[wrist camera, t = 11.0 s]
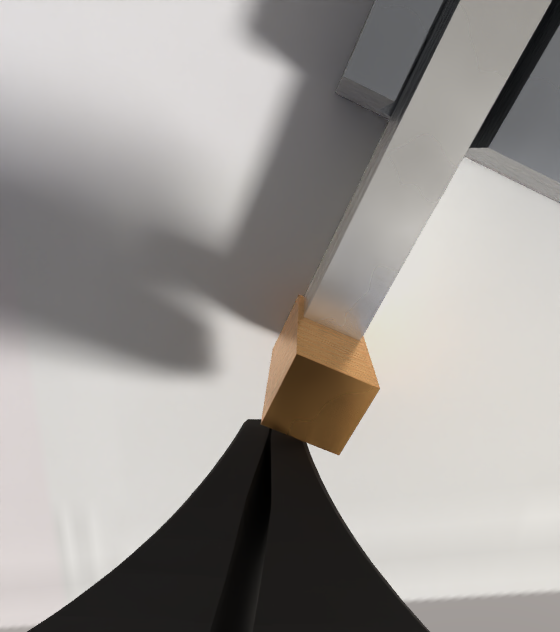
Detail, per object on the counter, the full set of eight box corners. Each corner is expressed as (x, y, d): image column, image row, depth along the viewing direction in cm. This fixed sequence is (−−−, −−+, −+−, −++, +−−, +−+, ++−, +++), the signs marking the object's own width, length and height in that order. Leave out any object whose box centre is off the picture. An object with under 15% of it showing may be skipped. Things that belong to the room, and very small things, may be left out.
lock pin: (273, 348, 12) (260, 424, 9) (588, -312, 7) (835, -712, 4) (329, 372, 12) (339, 455, 9) (675, -256, 7) (981, -593, 4)
